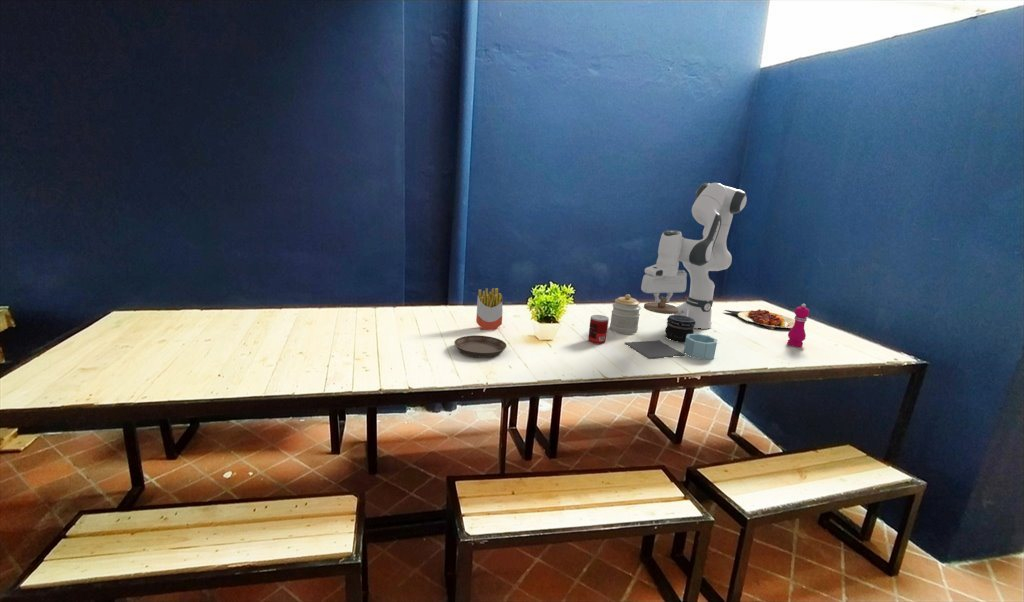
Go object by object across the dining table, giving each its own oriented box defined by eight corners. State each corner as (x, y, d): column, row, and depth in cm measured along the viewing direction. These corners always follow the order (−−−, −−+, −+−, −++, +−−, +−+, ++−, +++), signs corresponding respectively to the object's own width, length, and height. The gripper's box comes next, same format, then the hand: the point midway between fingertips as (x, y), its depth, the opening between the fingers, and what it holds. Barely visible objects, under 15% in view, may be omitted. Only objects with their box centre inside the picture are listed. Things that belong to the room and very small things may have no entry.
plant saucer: (471, 338, 219) (472, 331, 218) (515, 349, 210) (515, 341, 210) (443, 352, 202) (443, 344, 201) (489, 365, 193) (490, 356, 192)
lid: (637, 305, 220) (638, 293, 219) (664, 304, 225) (666, 293, 224) (657, 314, 208) (658, 302, 206) (685, 313, 213) (687, 301, 211)
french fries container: (501, 329, 233) (504, 290, 228) (478, 330, 230) (480, 290, 225) (499, 326, 237) (501, 288, 232) (475, 326, 234) (478, 288, 229)
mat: (624, 343, 226) (624, 342, 226) (659, 341, 233) (659, 340, 232) (648, 358, 210) (649, 357, 210) (685, 356, 216) (685, 354, 216)
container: (678, 333, 247) (682, 313, 244) (698, 342, 236) (702, 321, 233) (658, 335, 241) (661, 314, 239) (677, 344, 230) (681, 323, 228)
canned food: (607, 340, 229) (610, 316, 226) (603, 345, 222) (606, 321, 219) (591, 337, 232) (593, 313, 229) (585, 342, 225) (588, 317, 222)
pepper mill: (805, 348, 238) (815, 306, 233) (788, 346, 239) (798, 304, 234) (800, 343, 245) (809, 302, 240) (784, 341, 246) (793, 300, 241)
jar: (628, 325, 253) (633, 290, 248) (642, 334, 241) (647, 297, 237) (604, 326, 249) (608, 290, 244) (618, 335, 237) (622, 298, 232)
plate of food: (720, 310, 294) (723, 298, 292) (782, 317, 293) (785, 305, 291) (741, 328, 264) (745, 315, 262) (810, 336, 263) (814, 324, 261)
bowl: (678, 349, 223) (680, 334, 222) (700, 348, 228) (703, 333, 226) (696, 360, 212) (699, 344, 211) (720, 358, 217) (723, 342, 215)
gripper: (682, 268, 219) (677, 300, 222) (641, 268, 211) (636, 301, 215) (692, 271, 213) (687, 304, 217) (650, 272, 206) (645, 305, 209)
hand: (661, 302), depth 216 cm, fingers closed on lid, 3 cm apart
